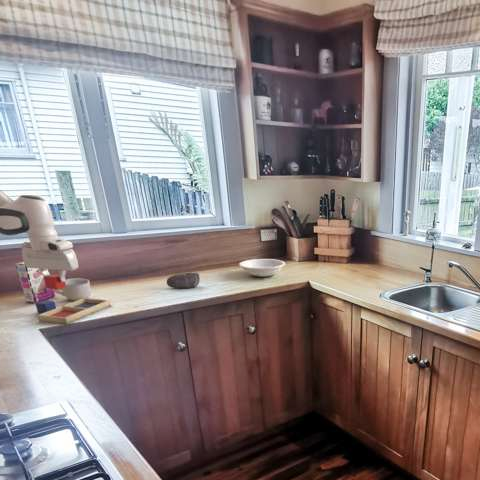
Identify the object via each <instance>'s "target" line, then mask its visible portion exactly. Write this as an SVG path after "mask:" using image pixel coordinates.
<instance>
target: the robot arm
mask: <svg viewBox="0 0 480 480" xmlns="http://www.w3.org/2000/svg"><path fill="white" fill-rule="evenodd" d="M24 233H26V234H27V236H28V240H29V241H24V242H23V243H22V244H21V255H22V260H23V261H22V262H24V265H25V266H26V267H27V268H38V269H39V271H40V272H41V274H42V275H43V276H47V275H49V274H50V273H49V274H48V273H47V269H48V270H52V271H53V270H54V271H58V274H59V275H60V277H58V279H59V282H64V281H66V279H67V278H66V274H67V272H72V271H77V270H78V269H79V261H78V258H77V255H76V252H75V251H74V249H73V248H74V245H73V244H74V243H73V242H71V241H69V240H66V239H64V238H62V237H61V236H59V235H58V232H57V230H56V228H55V220H54V216H53V213H52V210H51V207H50V205H49V203H48V201H47V199H44V197H41V196H37V195H32V194H31V195H29V194H22V195H20V196H18V197H17V198H16V199H15V200H14V199H12V198H11V197H9V196H8V195H7V194H5V193H4V192H3V191H2V190H1V189H0V234H1V235H4V236H16V235H21V234H24Z"/></svg>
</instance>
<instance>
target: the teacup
mask: <svg viewBox="0 0 480 480" xmlns="http://www.w3.org/2000/svg"><path fill="white" fill-rule="evenodd" d="M65 279H66V281H65V284H66V287H63V288H60V290H61V291H59V290H58V289H53V290H54V293H55V294H59V295H61V296H62V297H65V298H66V299H68V300H70V301H73V302H75V301H78V300H81V299H83V298H90V296H91V295H92V288H91V283H90V279H88V278H83V277H75V278H65Z"/></svg>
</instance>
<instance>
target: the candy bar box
mask: <svg viewBox="0 0 480 480" xmlns="http://www.w3.org/2000/svg"><path fill="white" fill-rule="evenodd" d="M15 268H16V271H17V274H18V278H19V281H20V286H21V288H22V292H23V296H24V299H25V303H29V304H30V303H31V304H35V303H37V302H40V301H43V300H49V299H51V298H55V297H56V292H55V291H54V290H53V289H48V288H46V285H45V281H44V276H43V275H42V274H41V272H40V271H39V269H38V268H27V267H26V266H25V265H24V261H22V262H17V263H15ZM47 273H48V274H49V275H51V274H50V269H47Z"/></svg>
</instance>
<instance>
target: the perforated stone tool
mask: <svg viewBox="0 0 480 480" xmlns="http://www.w3.org/2000/svg"><path fill="white" fill-rule="evenodd" d="M200 281H201V280H200V274H199V273H198V272H185V273H178V274H174V275H171V276H170V277H168V278H167V279H166V285H167V286H168V287H169V288H172V289H189V288H196V287H197V286H198V285H199V283H200Z"/></svg>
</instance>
